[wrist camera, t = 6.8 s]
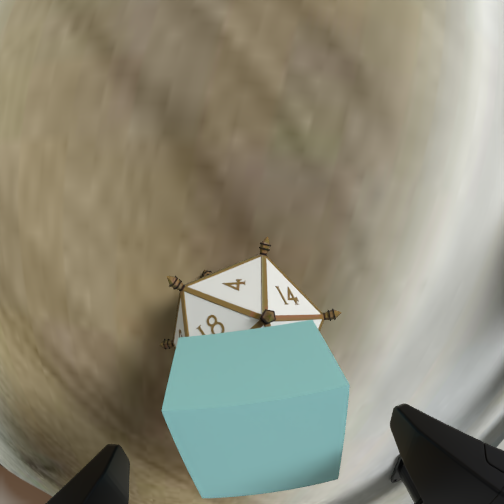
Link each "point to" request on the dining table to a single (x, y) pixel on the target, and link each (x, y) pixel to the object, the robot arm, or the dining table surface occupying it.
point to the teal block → (257, 409)
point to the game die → (241, 300)
